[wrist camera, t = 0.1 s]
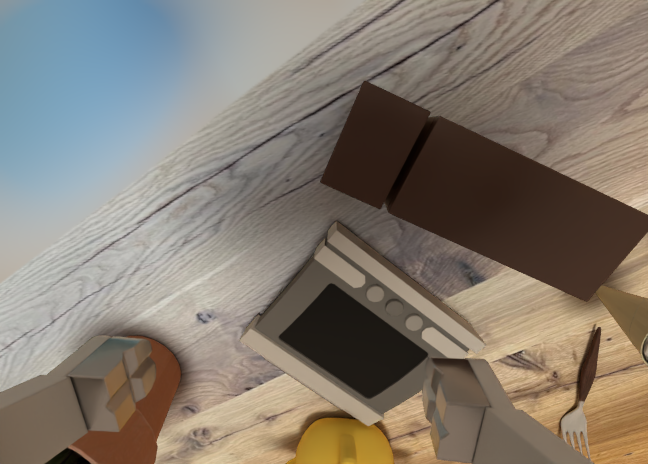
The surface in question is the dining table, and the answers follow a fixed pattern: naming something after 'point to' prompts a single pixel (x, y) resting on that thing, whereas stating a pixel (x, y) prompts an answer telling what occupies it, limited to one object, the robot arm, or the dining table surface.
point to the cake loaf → (513, 209)
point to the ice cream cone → (628, 316)
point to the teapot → (342, 444)
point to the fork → (582, 397)
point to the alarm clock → (358, 329)
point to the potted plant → (132, 422)
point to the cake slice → (374, 145)
